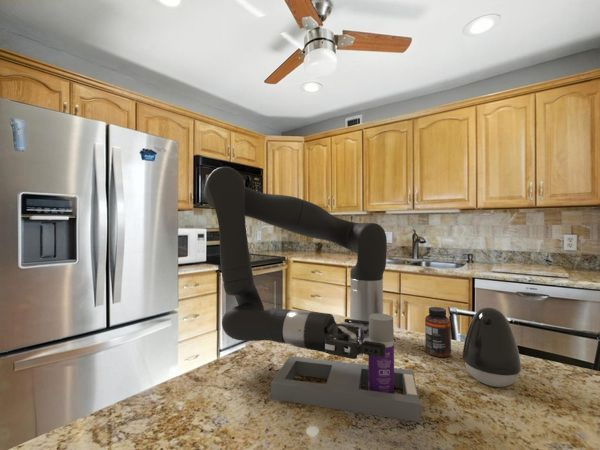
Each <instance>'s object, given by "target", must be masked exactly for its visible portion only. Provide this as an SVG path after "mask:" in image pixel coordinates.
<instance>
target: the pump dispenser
mask: <svg viewBox="0 0 600 450" xmlns="http://www.w3.org/2000/svg"><path fill="white" fill-rule="evenodd" d="M519 351H520V350H519V348H518V344H517V341H516V336H515V334H514V331H513V329H512V327H511V325H510V323H509V320H508V318H507V317H506V316H505V315H504V313H503V312H502V311H500V310H498V309H497V308H494V307H491V306H490V307H489V306H487V307H482V308H480V309H479V310H478V311H477V312H475V314H474V316H472V319H471V320H470V323H469V326H468V328H467V331H466V334H465V338H464V343H463V349H462V360H463V362H464V363H465V364H464V365H465V366H466V370H467V371H468V374H470V375H471V376H472V377H473V378H474V379H475V380H477V382H480V383H482V384H484V385H487V386H490V387H495V388H496V387H497V388H503V387H509V386H510V385H513V383H515V382H516V381H517V379H518V376H519V374H520V373H521V372H522V371H521V370H522V364H521V363H522V362H521V358H520V352H519Z"/></svg>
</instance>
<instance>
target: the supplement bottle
mask: <svg viewBox="0 0 600 450" xmlns="http://www.w3.org/2000/svg"><path fill="white" fill-rule="evenodd" d="M451 325H452V324H451V320H450V318H449V317H447V310H446V308H444V307H441V306H430V307H429V308H428V315H426V316H425V318H424V333H425V336H424V337H425V338H424V339H425V341H424V342H425V346H424V347H425V351H426V352H427V354H428V355H431V356H432V357H433V356H434V357H437V358H447V357H449V356H451V354H452V336H451V335H452V332H451V331H452V329H451Z"/></svg>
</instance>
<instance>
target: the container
mask: <svg viewBox="0 0 600 450" xmlns="http://www.w3.org/2000/svg"><path fill="white" fill-rule="evenodd" d="M394 331H395V330H394V317H393V316H392V315H389V314H385V313H383V314H371V315H369V339H368V341H371V342H377V343H383V344H385V346H386V355H385V357H383V358H382V357H376V356H371V355H367V356H368V361H367V362H368V364H367V365H368V384H367V385H368V390H369V391H377V392H384V393H391V394H395V388H394V368H395V340H394V339H395V337H394V336H395V335H394V333H395V332H394Z"/></svg>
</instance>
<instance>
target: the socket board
mask: <svg viewBox="0 0 600 450" xmlns="http://www.w3.org/2000/svg"><path fill="white" fill-rule="evenodd" d="M296 376H302V377H303V376H304V377H311V378H319V379H325V380H326V379H327V381H326V383H325V384H323V383H318V382H312V381H311V382H310V381H304V380H303V381H302V380H295V379H294V378H295V377H296ZM362 384H365V385H368V364H364V363H362V364H361V363H353V362H345V361H337V360H329V359H320V358H310V357H302V356H293V355H289V356H288V358H287V359H286V360H285V362H284V363H283V365H282V366H281V368H280V370H278V372H277V373H276V375H275V376H274V378H273V379H272V381H271V382H270V400H276V401H281V402H288V403H295V404H302V405H308V406H313V407H321V408H326V409H327V408H328V409H334V410H339V411H340V410H341V411H346V412H353V413H359V414H366V415H372V416H377V417H385V418H391V419H397V420H402V421H403V420H404V421H410V422H416V423H421V401H420V398H419V397H420V396H419V393H418V389H417V385H416V381H415V377H414V371H413V369H407V368H399V367H398V368H396V367H394V389H401V390H402V393H403V394H396V393H394V394H391V393H384V392H377V391H369V390H367V389H362Z"/></svg>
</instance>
